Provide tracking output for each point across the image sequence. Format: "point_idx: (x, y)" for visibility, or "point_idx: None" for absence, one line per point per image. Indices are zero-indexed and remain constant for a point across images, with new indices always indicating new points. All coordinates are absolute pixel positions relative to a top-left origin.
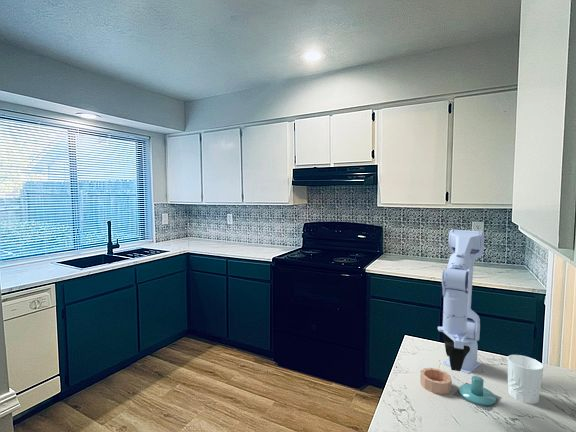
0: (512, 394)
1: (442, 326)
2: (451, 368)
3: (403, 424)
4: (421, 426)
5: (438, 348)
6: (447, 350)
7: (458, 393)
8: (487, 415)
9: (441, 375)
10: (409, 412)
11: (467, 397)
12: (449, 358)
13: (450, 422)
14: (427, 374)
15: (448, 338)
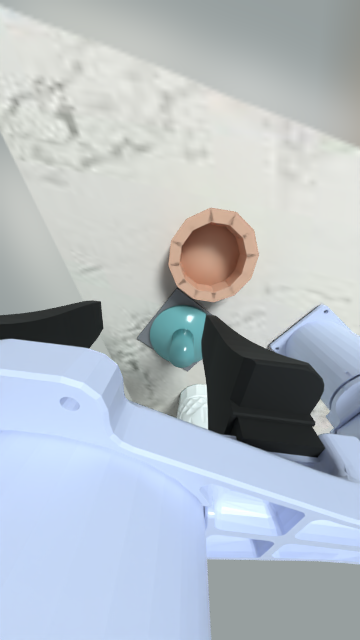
0: (193, 389)
1: (121, 448)
2: (86, 301)
3: (5, 117)
4: (26, 177)
5: None
6: (208, 326)
7: (183, 302)
8: (128, 331)
9: (230, 280)
10: (67, 149)
11: (161, 315)
12: (65, 310)
13: (76, 256)
14: (239, 239)
15: (220, 370)
